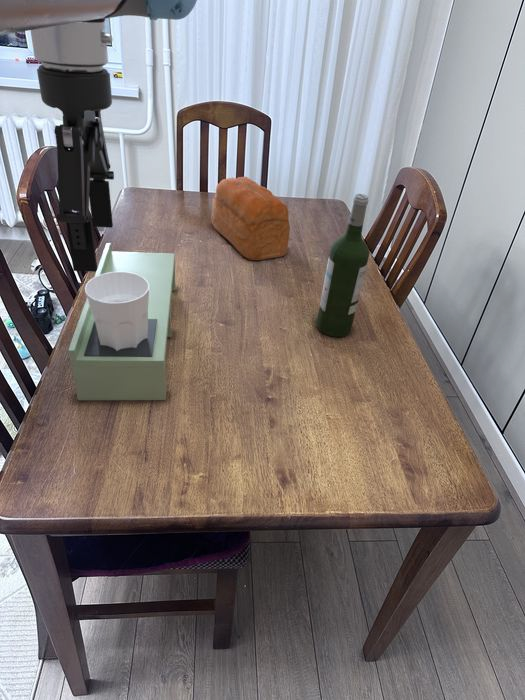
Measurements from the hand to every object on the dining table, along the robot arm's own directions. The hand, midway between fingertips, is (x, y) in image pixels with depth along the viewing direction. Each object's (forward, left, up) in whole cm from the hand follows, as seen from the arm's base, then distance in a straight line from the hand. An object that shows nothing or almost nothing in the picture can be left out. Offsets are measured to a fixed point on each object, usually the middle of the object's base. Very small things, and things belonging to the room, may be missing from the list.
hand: (95, 246), depth 65 cm
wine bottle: (+48, -15, -30) cm, 59 cm away
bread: (+69, +27, -30) cm, 81 cm away
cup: (+6, +5, -21) cm, 23 cm away
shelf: (+16, +14, -30) cm, 37 cm away
